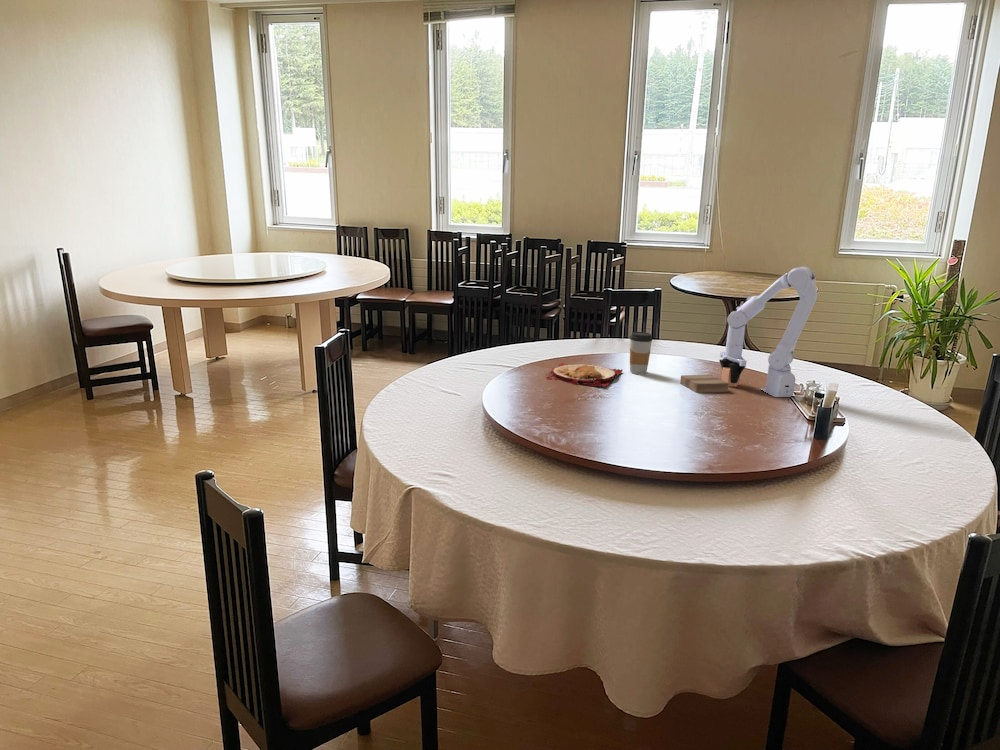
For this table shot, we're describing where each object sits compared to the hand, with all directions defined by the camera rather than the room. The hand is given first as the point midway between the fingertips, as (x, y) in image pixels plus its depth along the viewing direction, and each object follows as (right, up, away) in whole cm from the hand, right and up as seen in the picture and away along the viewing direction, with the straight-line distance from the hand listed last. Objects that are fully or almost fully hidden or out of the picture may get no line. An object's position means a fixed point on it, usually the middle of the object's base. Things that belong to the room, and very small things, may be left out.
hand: (730, 380), depth 256 cm
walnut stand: (-11, -2, -5) cm, 12 cm away
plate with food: (-53, +1, +5) cm, 54 cm away
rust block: (0, -1, 0) cm, 1 cm away
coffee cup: (-31, +3, +13) cm, 34 cm away
